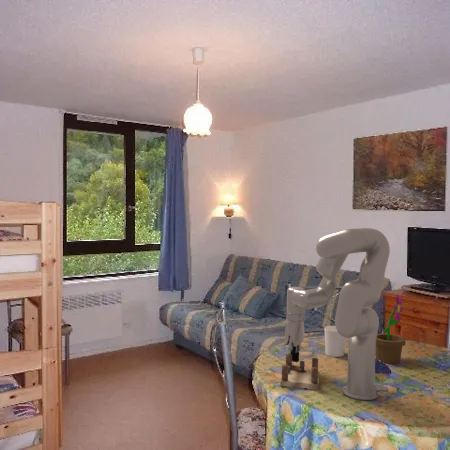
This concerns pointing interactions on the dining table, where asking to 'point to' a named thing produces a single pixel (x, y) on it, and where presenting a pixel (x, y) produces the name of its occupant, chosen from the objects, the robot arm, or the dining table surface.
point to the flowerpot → (390, 339)
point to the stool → (301, 377)
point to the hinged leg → (293, 367)
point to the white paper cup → (334, 342)
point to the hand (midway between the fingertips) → (294, 361)
